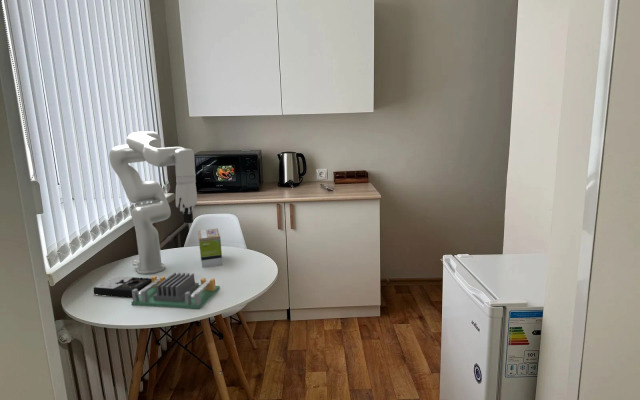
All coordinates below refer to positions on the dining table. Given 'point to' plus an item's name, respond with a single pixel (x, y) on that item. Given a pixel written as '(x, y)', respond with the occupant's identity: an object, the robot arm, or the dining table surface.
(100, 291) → the multimeter
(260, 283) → the dining table surface
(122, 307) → the dining table surface
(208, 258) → the tea box
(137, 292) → the strap left
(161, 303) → the cooler board
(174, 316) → the dining table surface
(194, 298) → the strap right
